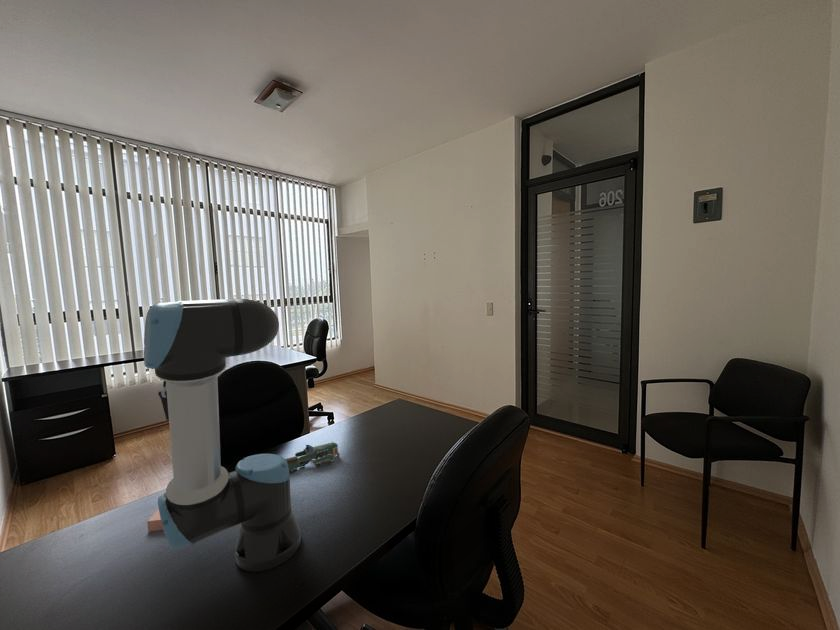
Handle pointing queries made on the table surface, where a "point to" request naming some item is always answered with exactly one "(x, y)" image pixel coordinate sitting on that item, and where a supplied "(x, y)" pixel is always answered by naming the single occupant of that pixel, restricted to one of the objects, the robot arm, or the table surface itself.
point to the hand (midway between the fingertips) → (179, 438)
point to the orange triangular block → (155, 522)
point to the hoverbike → (313, 456)
